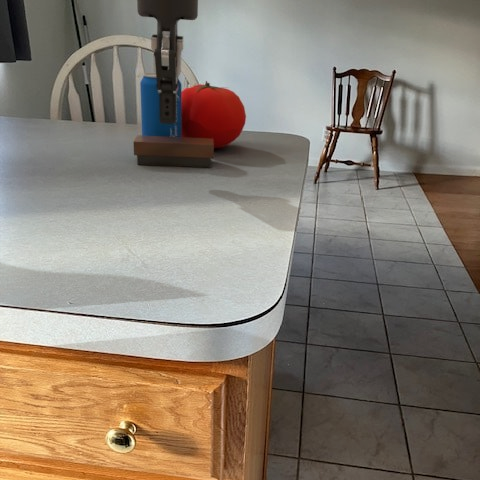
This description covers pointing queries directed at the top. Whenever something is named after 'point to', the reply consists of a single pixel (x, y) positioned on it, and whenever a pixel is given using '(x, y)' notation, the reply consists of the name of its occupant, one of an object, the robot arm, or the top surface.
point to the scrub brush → (173, 151)
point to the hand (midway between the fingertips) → (167, 122)
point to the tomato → (211, 114)
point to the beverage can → (157, 109)
